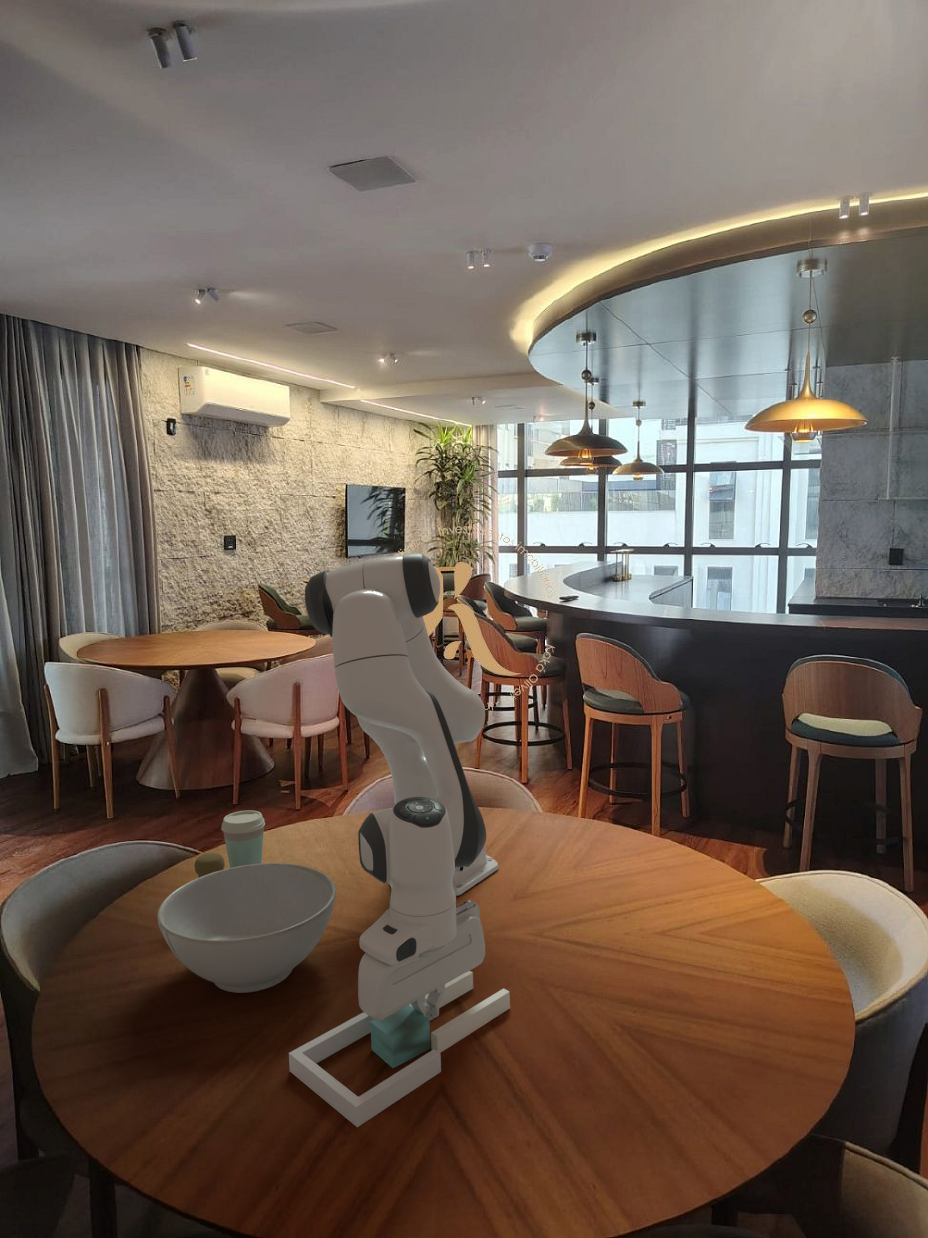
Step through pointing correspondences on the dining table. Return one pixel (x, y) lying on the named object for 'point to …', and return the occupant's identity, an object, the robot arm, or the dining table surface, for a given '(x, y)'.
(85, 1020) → the dining table surface
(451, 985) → the chute
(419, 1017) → the teal block
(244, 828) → the coffee cup
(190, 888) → the decorative bowl
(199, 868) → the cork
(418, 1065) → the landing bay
